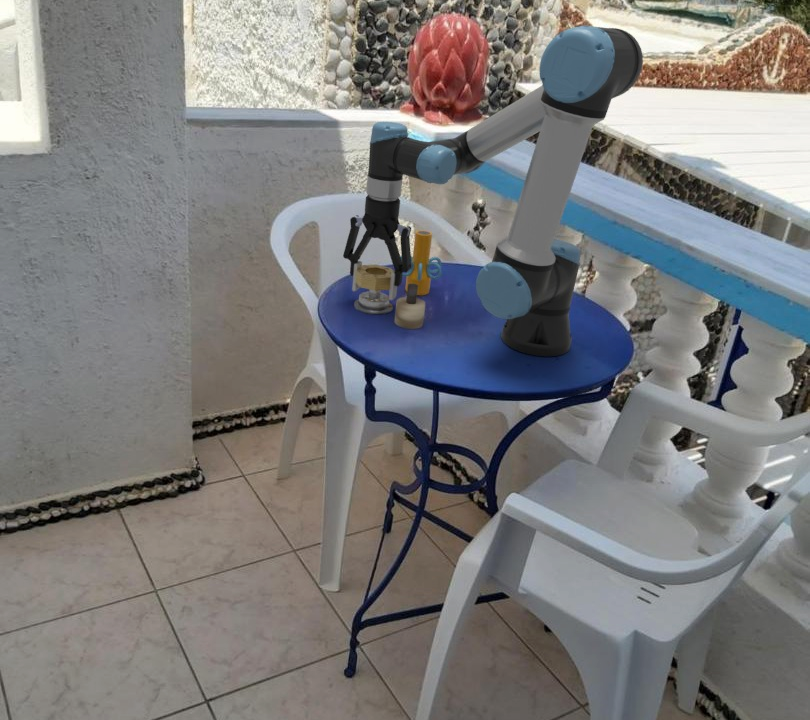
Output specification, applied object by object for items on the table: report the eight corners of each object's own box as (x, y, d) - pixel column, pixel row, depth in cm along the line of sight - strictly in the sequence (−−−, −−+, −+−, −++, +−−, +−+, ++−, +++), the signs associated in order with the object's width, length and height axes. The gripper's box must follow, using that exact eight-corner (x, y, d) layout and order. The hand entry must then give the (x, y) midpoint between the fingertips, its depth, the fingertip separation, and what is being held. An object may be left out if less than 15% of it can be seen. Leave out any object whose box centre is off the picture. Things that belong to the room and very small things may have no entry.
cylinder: (438, 302, 185) (446, 242, 178) (395, 298, 184) (401, 238, 178) (437, 285, 196) (445, 227, 189) (397, 280, 195) (402, 223, 189)
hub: (400, 310, 177) (403, 283, 174) (368, 317, 172) (370, 288, 169) (378, 297, 184) (380, 270, 181) (346, 302, 179) (348, 275, 176)
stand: (428, 326, 171) (433, 288, 167) (405, 330, 167) (410, 292, 164) (411, 315, 176) (415, 278, 172) (388, 320, 172) (392, 282, 168)
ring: (398, 282, 178) (400, 270, 177) (385, 293, 171) (386, 280, 169) (365, 274, 180) (366, 262, 179) (350, 284, 173) (351, 272, 172)
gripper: (434, 202, 167) (422, 298, 177) (346, 184, 173) (339, 279, 183) (423, 209, 161) (411, 309, 171) (331, 190, 166) (325, 288, 176)
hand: (374, 293), depth 177 cm, fingers closed on ring, 8 cm apart
